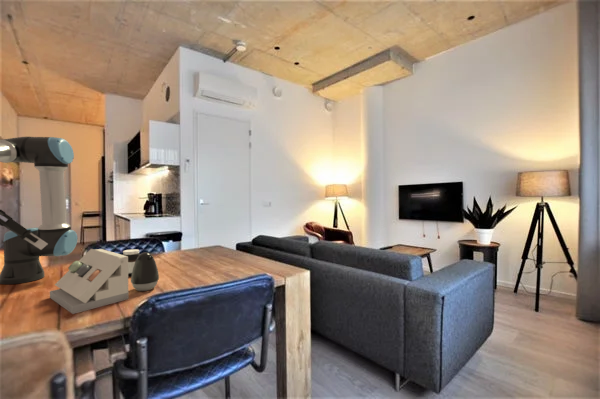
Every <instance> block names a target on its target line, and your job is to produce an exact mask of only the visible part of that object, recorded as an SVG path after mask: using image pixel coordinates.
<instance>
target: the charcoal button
mask: <svg viewBox="0 0 600 399" xmlns="http://www.w3.org/2000/svg"><path fill="white" fill-rule="evenodd" d="M90 269H91V267H89V266H88V265H87V264H83V265H82V266H80V267H79V268H78V269H77V271H76V273H77V274H79V275H80V276H82V277H83V276H84V275H85V274H86V273H87V272H88V271H89V270H90Z"/></svg>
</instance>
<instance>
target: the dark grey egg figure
mask: <svg viewBox="0 0 600 399" xmlns="http://www.w3.org/2000/svg"><path fill="white" fill-rule="evenodd" d="M139 254H140V255H139V256H138V258H137V259H136V261H135V264H134V267H133V271H132V276H130V283H131V285H132V288H133V289H134V290H135V291H137V292H138V291H139V292H146V291H150V290H153V289H154V288H155V287H156V286H157V284H158V282H159V279H160V274H159V270H158V265H157V263H156V260H155V258H154V256H153V255H152V254H151V253H149V252H142V253H139Z"/></svg>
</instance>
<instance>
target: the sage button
mask: <svg viewBox="0 0 600 399" xmlns="http://www.w3.org/2000/svg"><path fill="white" fill-rule="evenodd" d="M82 265H83V264H82V263H80V262H79V260H74V261H73V262H72V263H71V264H70V265H69V267H68V271H69V270H70V271H72V272H73V273H75V272H76V271H77V269H78V268H79V267H80V266H82Z"/></svg>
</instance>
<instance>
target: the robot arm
mask: <svg viewBox="0 0 600 399" xmlns="http://www.w3.org/2000/svg"><path fill="white" fill-rule="evenodd" d="M74 158H75V152H74V150H73V147H72V145H71V144H70V142H68V140H66V139H64V138H62V137H53V136H18V137H12V138H11V137H10V138H4V139H0V163H4V164H6V163H7V164H8V163H28V164H33V165H34V168H35V169H36V170H38V172H39V173H38V174H39V191H40V208H41V209H40V212H41V225H40V226H39V227H31V228H26V227H25V226H22V225H21V224H20V223H18V222H17V221H15V220H14V219H13V218H12V217H11V215H8V214H7V213H6V211H4V210H2V209H1V208H0V226H2V227H4V228H6V229H7V230H8V231H6V232H5V233H4V235H3V241H2V243H3V267H2V269H1V271H0V285H16V284H23V283H29V282H34V281H38V280H41V279H43V278H45V270H44V267H43V265H42V263H41V262H40V257H60V256H61V257H62V256H68V255H70V254H71V253H72V252H73V251H74V250H75V248H76V246H77V243H78V234H77V232H76V231H75V230H73V229H71V228H72V227H71V224H69V222H67V205H66V204H67V203H66V188H65V187H66V183H65V171H66V170H67V169H68V168H69V164H72V163H73V160H74Z"/></svg>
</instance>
